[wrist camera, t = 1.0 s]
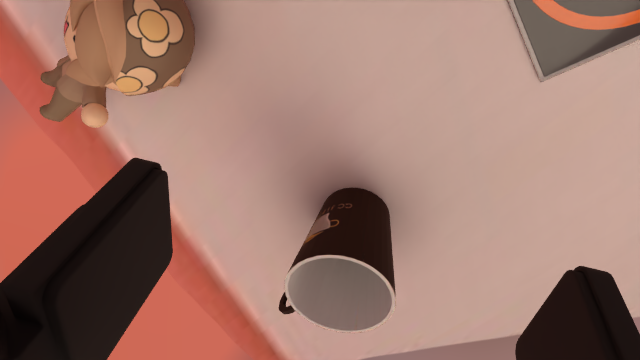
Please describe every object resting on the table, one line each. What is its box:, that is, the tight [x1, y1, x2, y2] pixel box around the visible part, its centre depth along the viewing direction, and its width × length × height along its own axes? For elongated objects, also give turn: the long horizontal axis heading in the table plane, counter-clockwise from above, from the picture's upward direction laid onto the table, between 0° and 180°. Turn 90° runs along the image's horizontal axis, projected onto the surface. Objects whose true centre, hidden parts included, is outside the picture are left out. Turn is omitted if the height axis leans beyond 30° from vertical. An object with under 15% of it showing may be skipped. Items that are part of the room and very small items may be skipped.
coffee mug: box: [279, 188, 396, 333], centre depth 38 cm, size 12×9×10 cm
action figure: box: [40, 0, 195, 128], centre depth 33 cm, size 10×11×15 cm
